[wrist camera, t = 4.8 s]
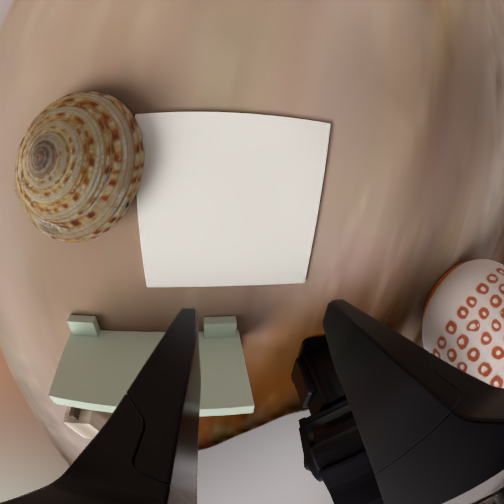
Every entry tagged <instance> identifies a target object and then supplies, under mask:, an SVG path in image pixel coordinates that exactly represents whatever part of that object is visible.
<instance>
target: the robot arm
mask: <svg viewBox="0 0 504 504" xmlns="http://www.w3.org/2000/svg"><path fill="white" fill-rule="evenodd" d="M323 328H324V331H325V335H326V336H322V337H314V338H307V339H305V340H304V341H303V342H302V345H301V349H300V352H299V356H298V358H297V359H296V361H295V364H294V368H293V371H292V374H291V375H292V382H293V383H294V384H295V387H296V390H297V392H298V395H299V398H300V401H301V404H302V406H303V407H304V408H306V407H308V408H309V410H310V413H311V416H309V417H307V418H302V419H300V420H299V424H300V428H299V431H300V436H301V442H302V448H303V452H304V467H305V468H306V469H307V470H309V471H311V472H312V474H313V475H314V477H315V478H316V479H317V480H318V481H324V483H325V485H326V487H327V489H328V491H329V493H330V495H331V497H332V500H333V502H334V504H504V388H498V387H494V386H492V385H489V384H487V383H485V382H483V381H481V380H479V379H477V378H475V377H473V376H471V375H470V374H468V373H466V372H464V371H462V370H460V369H458V368H456V367H454V366H452V365H450V364H449V363H447V362H445V361H444V360H442V359H440V358H438V357H437V356H435V355H434V354H432V353H429V351H427V350H425V349H424V348H422V347H420V346H419V345H417V344H416V343H414V342H412V341H411V340H409V339H407V338H406V337H404V336H402V335H401V334H399V333H397V332H396V331H394V330H393V329H391V328H389V327H388V326H386V325H384V324H383V323H381V322H379V321H378V320H376V319H374V318H373V317H371V316H369V315H368V314H366V313H364V312H363V311H361V310H359V309H358V308H356V307H354V306H353V305H351V304H349V303H348V302H346V301H344V300H342V299H337V300H331V301H330V302H329V303H328V306H327V309H326V313H325V316H324V319H323ZM126 393H127V394H125V395H124V396H123V398H122V399H121V401H120V403H119V404H118V406H117V407H116V409H115V410H114V412H113V413H112V415H111V416H110V418H109V419H108V420H107V422H106V423H105V424H104V426H103V427H102V428H101V429H100V431H99V432H98V433H97V435H96V436H95V437H94V438H93V439H92V441H91V442H90V443H89V444H88V445H87V447H86V448H85V449H84V450H83V451H82V453H81V454H80V455H79V456H78V457H77V459H76V460H75V461H74V462H73V463H72V465H71V466H70V467H69V468H68V469H67V471H66V472H65V473H64V474H63V475H62V476H61V477H59V479H57V480H56V481H54V482H53V483H51V484H49V485H47V486H45V487H43V488H40V489H38V490H35V491H33V492H30V493H28V494H25V495H22V496H20V497H17V498H14V499H11V500H8V501H5V502H2V503H0V504H197V461H198V433H199V412H200V394H201V370H200V353H199V333H198V318H197V309H196V308H182V309H181V310H180V312H179V313H178V315H177V316H176V318H175V319H174V321H173V322H172V324H171V325H170V326H169V328H168V329H167V331H166V332H165V334H164V335H163V337H162V338H161V340H160V341H159V343H158V344H157V346H156V347H155V349H154V350H153V352H152V353H151V355H150V356H149V358H148V360H147V361H146V363H145V364H144V366H143V367H142V369H141V370H140V372H139V373H138V375H137V376H136V378H135V379H134V381H133V383H132V384H131V386H130V387H129V389H128V390H127V392H126Z"/></svg>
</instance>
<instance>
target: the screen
mask: <svg viewBox="0 0 504 504" xmlns="http://www.w3.org/2000/svg"><path fill="white" fill-rule="evenodd" d="M203 320H204V331H198V333H199V353H200V370H201V394H200V412H199V416H220V415H234V414H245V413H253V410H254V402H253V397H252V393H251V388H250V383H249V379H248V374H247V369H246V364H245V359H244V355H243V350H242V345H241V340H240V335H239V330H237V321H236V316H222V317H203ZM67 322H68V324H69V327H70V329H71V334H70V336H69V339H68V341H67V344H66V346H65V349H64V351H63V354H62V357H61V359H60V362H59V365H58V368H57V371H56V374H55V377H54V380H53V383H52V386H51V389H50V392H49V395H48V396H49V397H50V398H51V399H52V401H53V402H54V403H56V404H60V405H65V406H70V407H76V408H82V409H88V410H94V411H102V412H110V413H113V412H114V410H115V409H116V407H117V406H118V404H119V403H120V401H121V399H122V398H123V396H124V395H125V394H127V393H126V392H127V390H128V389H129V387H130V386H131V384H132V383H133V381H134V379H135V378H136V376H137V375H138V373H139V372H140V370H141V369H142V367H143V366H144V364H145V363H146V361H147V360H148V358H149V356H150V355H151V353H152V352H153V350H154V349H155V347H156V346H157V344H158V343H159V341H160V340H161V338H162V337H163V335H164V334H165V332H137V331H109V330H100V328H99V325H98V322H97V319H96V316H83V315H70V316H69V318H68V321H67Z"/></svg>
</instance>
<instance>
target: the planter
mask: <svg viewBox="0 0 504 504" xmlns="http://www.w3.org/2000/svg"><path fill="white" fill-rule="evenodd" d="M422 338H423V344H424V349H425V350H427V351H429V353H432V354H434V355H435V356H437V357H438V358H440V359H442V360H444V361H445V362H447V363H449V364H450V365H452V366H454V367H456V368H458V369H460V370H462V371H464V372H466V373H468V374H470V375H471V376H473V377H475V378H477V379H479V380H481V381H483V382H485V383H487V384H489V385H492V386H494V387H498V388H504V265H503V264H501V263H499V262H496V261H493V260H489V259H476V260H471V261H468V262H461V263H458V264H456V265H455V266H453V267H452V268H451V269H449V270H448V271H447V272H446V273H445V274H444V275H443V276H442V277H441V279H440V280H439V281H438V282H437V284H436V285H435V286H434V288H433V289H432V291H431V293H430V295H429V296H428V298H427V301H426V303H425V306H424V309H423V324H422Z"/></svg>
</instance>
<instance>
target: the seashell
mask: <svg viewBox="0 0 504 504" xmlns="http://www.w3.org/2000/svg"><path fill="white" fill-rule="evenodd" d="M144 156H145V152H144V147H143V136H142V133H141V130H140V128H139V125H138V123H137V121H136V119H135V118H134V116H133V114H132V113H131V111H130V110H129V109H128V108H127V107H126V106H125V105H124V104H123V103H122V102H121V101H119V100H118V99H116V98H115V97H112V96H110V95H108V94H104V93H100V92H90V91H88V92H78V93H74V94H70V95H67V96H64V97H62V98H60V99H58V100H56V101H55V102H53V103H52V104H50V105H49V106H47V107H46V108H45V109H44V110H43V111H42V112H41V113H40V114H39V115H38V116H37V117H36V118H35V119H34V120H33V122H32V123H31V125H30V126H29V128H28V129H27V131H26V133H25V135H24V137H23V139H22V142H21V144H20V147H19V149H18V153H17V158H16V166H15V192H16V195H17V198H18V200H19V202H20V204H21V206H22V207H23V209H24V210H25V212H26V214H27V215H28V216H29V218H30V220H31V221H32V222H33V223H34V225H35V226H36V227H37V229H38V230H39V231H40V232H42V233H43V234H45V235H48V236H50V237H52V238H54V239H56V240H59V241H65V242H83V241H87V240H90V239H94V238H96V237H98V236H100V235H102V234H103V233H105V232H106V231H108V230H109V229H110V228H111V227H113V226H115V225H116V224H117V222H118V221H119V220H120V219H121V218H122V217H123V216H124V214H125V213H126V212H127V210H128V208H129V206H130V205H131V203H132V201H133V199H134V197H135V195H136V193H137V191H138V188H139V185H140V182H141V178H142V173H143V167H144Z"/></svg>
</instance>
